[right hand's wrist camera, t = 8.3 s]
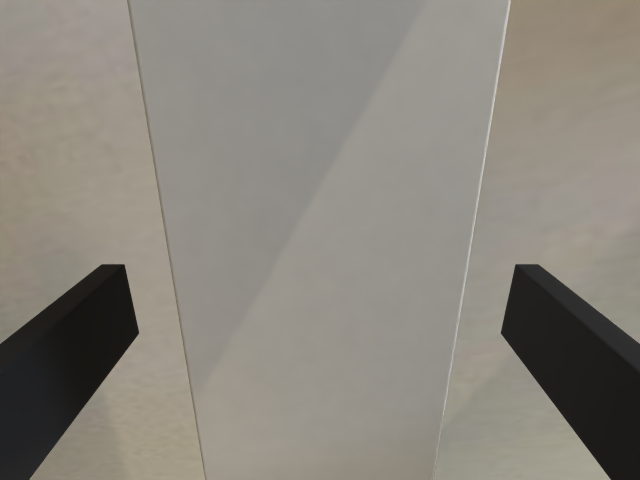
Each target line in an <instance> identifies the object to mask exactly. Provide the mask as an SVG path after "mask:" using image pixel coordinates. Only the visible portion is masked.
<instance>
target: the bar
mask: <svg viewBox="0 0 640 480" xmlns="http://www.w3.org/2000/svg"><path fill="white" fill-rule="evenodd" d="M127 2H128V8H129V14H130V21H131V27H132V33H133V39H134V45H135V51H136V57H137V64H138V70H139V76H140V82H141V88H142V94H143V100H144V106H145V113H146V119H147V125H148V131H149V137H150V143H151V149H152V155H153V162H154V168H155V174H156V180H157V186H158V192H159V198H160V204H161V211H162V217H163V223H164V229H165V235H166V241H167V247H168V254H169V260H170V266H171V272H172V278H173V284H174V290H175V296H176V303H177V309H178V315H179V321H180V327H181V333H182V339H183V345H184V352H185V358H186V364H187V370H188V376H189V382H190V388H191V395H192V401H193V407H194V413H195V419H196V425H197V431H198V437H199V444H200V450H201V456H202V462H203V468H204V474H205V480H434V473H435V467H436V461H437V455H438V449H439V442H440V436H441V430H442V424H443V418H444V412H445V405H446V399H447V393H448V387H449V381H450V374H451V368H452V362H453V356H454V350H455V343H456V337H457V331H458V325H459V319H460V312H461V306H462V300H463V294H464V288H465V281H466V275H467V269H468V263H469V257H470V251H471V244H472V238H473V232H474V226H475V220H476V213H477V207H478V201H479V195H480V189H481V182H482V176H483V170H484V164H485V158H486V151H487V145H488V139H489V133H490V127H491V120H492V114H493V108H494V102H495V96H496V90H497V83H498V77H499V71H500V65H501V59H502V52H503V46H504V40H505V34H506V28H507V21H508V15H509V9H510V3H511V0H127Z"/></svg>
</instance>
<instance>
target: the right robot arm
mask: <svg viewBox="0 0 640 480" xmlns="http://www.w3.org/2000/svg"><path fill="white" fill-rule="evenodd" d="M138 334H139V330H138V325H137V321H136V316H135V311H134V307H133V302H132V297H131V293H130V288H129V283H128V279H127V274H126V269H125V265H124V264H102V265H100V266H99V267H98V268H96V269H95V270H94V271H93V272H91V273H90V274H89V275H88V276H86V277H85V278H84V279H82V280H81V281H80V282H79V283H77V284H76V285H75V286H74V287H72V288H71V289H70V290H68V291H67V292H66V293H65V294H63V295H62V296H61V297H60V298H58V299H57V300H56V301H54V302H53V303H52V304H51V305H49V306H48V307H47V308H46V309H44V310H43V311H42V312H40V313H39V314H38V315H37V316H35V317H34V318H33V319H32V320H30V321H29V322H28V323H26V324H25V325H24V326H23V327H21V328H20V329H19V330H18V331H16V332H15V333H14V334H12V335H11V336H10V337H9V338H7V339H6V340H5V341H4V342H2V343H1V344H0V480H29V479H30V478H31V476H32V475H33V474H34V472H35V471H36V470H37V468H38V467H39V466H40V464H41V463H42V462H43V460H44V459H45V458H46V456H47V455H48V454H49V452H50V451H51V450H52V448H53V447H54V446H55V444H56V443H57V442H58V440H59V439H60V438H61V436H62V435H63V434H64V432H65V431H66V430H67V428H68V427H69V426H70V424H71V423H72V422H73V421H74V419H75V418H76V417H77V415H78V414H79V413H80V411H81V410H82V409H83V407H84V406H85V405H86V403H87V402H88V401H89V399H90V398H91V397H92V395H93V394H94V393H95V391H96V390H97V389H98V387H99V386H100V385H101V383H102V382H103V381H104V379H105V378H106V377H107V375H108V374H109V373H110V371H111V370H112V369H113V367H114V366H115V365H116V363H117V362H118V361H119V359H120V358H121V357H122V355H123V354H124V353H125V351H126V350H127V349H128V347H129V346H130V345H131V343H132V342H133V341H134V339H135V338H136V337H137V335H138ZM501 334H502V335H503V337H504V338H505V339H506V341H507V342H508V343H509V345H510V346H511V347H512V349H513V350H514V351H515V353H516V354H517V355H518V357H519V358H520V359H521V361H522V362H523V363H524V365H525V366H526V367H527V369H528V370H529V371H530V373H531V374H532V375H533V377H534V378H535V379H536V381H537V382H538V383H539V385H540V386H541V387H542V389H543V390H544V391H545V393H546V394H547V395H548V397H549V398H550V399H551V401H552V402H553V403H554V405H555V406H556V407H557V409H558V410H559V411H560V413H561V414H562V415H563V417H564V418H565V419H566V421H567V422H568V423H569V424H570V426H571V427H572V428H573V430H574V431H575V432H576V434H577V435H578V436H579V438H580V439H581V440H582V442H583V443H584V444H585V446H586V447H587V448H588V450H589V451H590V452H591V454H592V455H593V456H594V458H595V459H596V460H597V462H598V463H599V464H600V466H601V467H602V468H603V470H604V471H605V472H606V474H607V475H608V476H609V478H610V479H611V480H640V344H639V343H638V342H636V341H635V340H634V339H633V338H631V337H630V336H629V335H628V334H626V333H625V332H624V331H622V330H621V329H620V328H619V327H617V326H616V325H615V324H614V323H612V322H611V321H610V320H608V319H607V318H606V317H605V316H603V315H602V314H601V313H600V312H598V311H597V310H596V309H594V308H593V307H592V306H591V305H589V304H588V303H587V302H586V301H584V300H583V299H582V298H580V297H579V296H578V295H577V294H575V293H574V292H573V291H572V290H570V289H569V288H568V287H566V286H565V285H564V284H563V283H561V282H560V281H559V280H558V279H556V278H555V277H554V276H552V275H551V274H550V273H549V272H547V271H546V270H545V269H544V268H542V267H541V266H540V265H538V264H516V265H515V269H514V274H513V279H512V283H511V288H510V293H509V297H508V302H507V307H506V311H505V316H504V321H503V325H502V330H501Z"/></svg>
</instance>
